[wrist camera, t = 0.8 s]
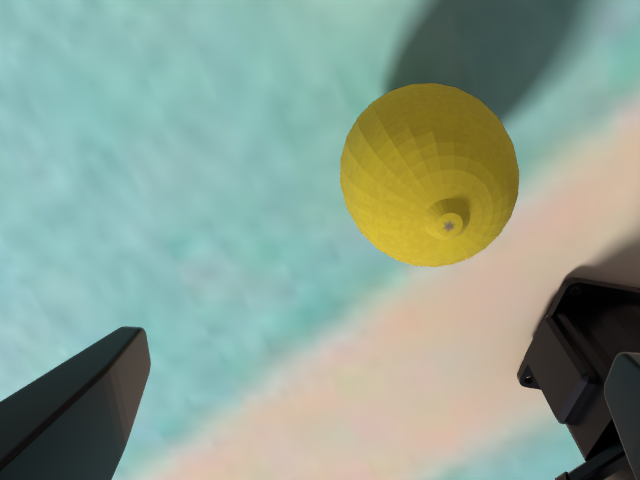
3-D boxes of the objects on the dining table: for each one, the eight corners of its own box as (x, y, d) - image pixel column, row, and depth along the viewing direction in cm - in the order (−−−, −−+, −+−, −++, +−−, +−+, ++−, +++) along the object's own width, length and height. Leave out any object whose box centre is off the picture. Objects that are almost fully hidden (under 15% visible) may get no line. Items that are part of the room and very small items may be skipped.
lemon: (335, 71, 18) (337, 126, 11) (483, 61, 18) (580, 111, 11) (341, 204, 21) (346, 317, 14) (471, 198, 21) (544, 310, 14)
